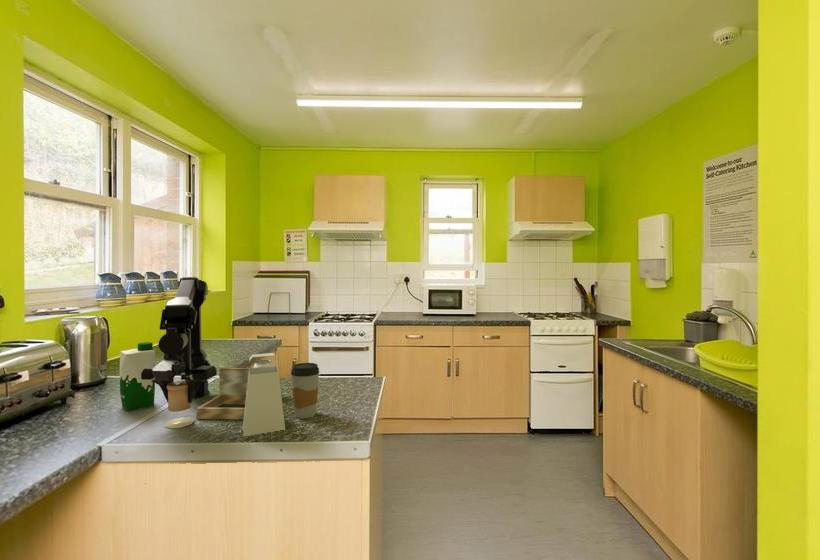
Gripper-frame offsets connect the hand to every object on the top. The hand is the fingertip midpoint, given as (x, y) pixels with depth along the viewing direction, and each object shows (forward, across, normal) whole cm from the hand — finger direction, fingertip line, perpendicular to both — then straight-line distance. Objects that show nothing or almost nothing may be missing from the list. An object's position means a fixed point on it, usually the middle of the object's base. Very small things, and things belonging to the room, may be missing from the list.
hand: (179, 402), depth 112 cm
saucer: (+6, 0, 0) cm, 6 cm away
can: (+6, +14, +26) cm, 30 cm away
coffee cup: (+6, +34, +8) cm, 35 cm away
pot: (+2, 0, 0) cm, 2 cm away
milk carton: (+6, -22, +14) cm, 27 cm away
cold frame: (+6, +10, +11) cm, 16 cm away
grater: (+6, +24, -1) cm, 25 cm away
